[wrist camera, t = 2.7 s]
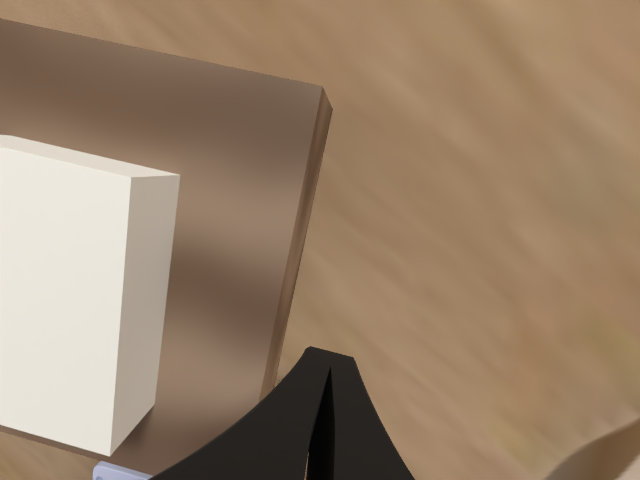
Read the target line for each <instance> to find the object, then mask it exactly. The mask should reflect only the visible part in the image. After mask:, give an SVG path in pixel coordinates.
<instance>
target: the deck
mask: <svg viewBox="0 0 640 480" xmlns="http://www.w3.org/2000/svg"><path fill="white" fill-rule="evenodd" d="M332 110H333V109H332V107H331V104H330V102H329V100H328V98H327V95H326V93H325V91H324V89H323V86H318V85H314V84H309V83H304V82H299V81H295V80H290V79H285V78H280V77H275V76H271V75H266V74H261V73H256V72H252V71H247V70H242V69H237V68H233V67H228V66H223V65H218V64H214V63H209V62H204V61H199V60H195V59H190V58H185V57H180V56H176V55H171V54H166V53H161V52H157V51H152V50H147V49H142V48H138V47H133V46H128V45H123V44H119V43H114V42H109V41H104V40H100V39H95V38H90V37H85V36H81V35H76V34H71V33H66V32H62V31H57V30H52V29H47V28H42V27H38V26H33V25H28V24H23V23H19V22H14V21H9V20H4V19H0V135H9V136H15V137H20V138H24V139H28V140H32V141H37V142H41V143H45V144H50V145H54V146H58V147H62V148H67V149H71V150H75V151H80V152H84V153H88V154H93V155H97V156H101V157H105V158H110V159H114V160H118V161H123V162H127V163H131V164H135V165H140V166H144V167H148V168H153V169H157V170H161V171H166V172H170V173H174V174H178V175H180V183H179V191H178V200H177V209H176V218H175V227H174V236H173V245H172V254H171V263H170V272H169V281H168V289H167V298H166V307H165V316H164V325H163V334H162V343H161V352H160V361H159V370H158V379H157V387H156V396H155V404H154V405H153V407H152V408H151V409H150V410H149V411H148V412H147V414H146V415H145V416H144V417H143V418H142V419H141V421H140V422H139V423H138V424H137V425H136V427H135V428H134V429H133V430H132V431H131V432H130V434H129V435H128V436H127V437H126V438H125V439H124V441H123V442H122V443H121V444H120V445H119V446H118V448H117V449H116V450H115V451H114V452H113V453H112V455H111V456H110V457H109V456H106V455H103V454H99V453H96V452H92V451H89V450H85V449H82V448H78V447H75V446H72V445H68V444H65V443H61V442H58V441H54V440H51V439H48V438H44V437H41V436H37V435H34V434H30V433H27V432H23V431H20V430H17V429H13V428H10V427H6V426H3V425H0V431H1V432H5V433H8V434H12V435H15V436H18V437H22V438H25V439H29V440H32V441H36V442H39V443H42V444H46V445H49V446H53V447H56V448H60V449H63V450H66V451H70V452H73V453H77V454H80V455H84V456H87V457H90V458H94V459H97V460H101V461H104V462H108V463H111V464H114V465H118V466H121V467H125V468H128V469H131V470H135V471H138V472H142V473H145V474H149V475H152V476H155V475H157V474H158V473H160V472H162V471H164V470H165V469H167V468H169V467H171V466H172V465H174V464H176V463H178V462H179V461H181V460H183V459H184V458H186V457H187V456H189V455H191V454H192V453H194V452H195V451H197V450H198V449H200V448H201V447H203V446H204V445H205V444H207V443H208V442H210V441H211V440H213V439H214V438H216V437H217V436H218V435H220V434H221V433H223V432H224V431H225V430H227V429H228V428H229V427H231V426H232V425H233V424H235V423H236V422H237V421H238V420H240V419H241V418H242V417H243V416H245V415H246V414H247V413H248V412H249V411H250V410H252V409H253V408H254V407H255V406H256V405H257V404H258V403H259V402H260V401H262V400H263V399H264V398H265V397H266V396H267V395H268V394H269V393H270V392H271V391H272V390H273V388H274V383H275V378H276V374H277V369H278V364H279V359H280V355H281V350H282V345H283V341H284V336H285V331H286V327H287V322H288V317H289V312H290V308H291V303H292V298H293V294H294V289H295V284H296V279H297V275H298V270H299V265H300V261H301V256H302V251H303V246H304V242H305V237H306V232H307V228H308V223H309V218H310V213H311V209H312V204H313V199H314V195H315V190H316V185H317V180H318V176H319V171H320V166H321V162H322V157H323V152H324V147H325V143H326V138H327V133H328V129H329V124H330V119H331V114H332Z"/></svg>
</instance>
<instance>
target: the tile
mask: <svg viewBox="0 0 640 480" xmlns="http://www.w3.org/2000/svg"><path fill="white" fill-rule="evenodd" d="M179 183H180V175H178V174H174V173H170V172H166V171H161V170H157V169H153V168H148V167H144V166H140V165H135V164H131V163H127V162H123V161H118V160H114V159H110V158H105V157H101V156H97V155H93V154H88V153H84V152H80V151H75V150H71V149H67V148H62V147H58V146H54V145H50V144H45V143H41V142H37V141H32V140H28V139H24V138H20V137H15V136H9V135H0V425H3V426H6V427H10V428H13V429H17V430H20V431H23V432H27V433H30V434H34V435H37V436H41V437H44V438H48V439H51V440H54V441H58V442H61V443H65V444H68V445H72V446H75V447H78V448H82V449H85V450H89V451H92V452H96V453H99V454H103V455H106V456H109V457H110V456H111V455H112V453H113V452H114V451H115V450H116V449H117V448H118V446H119V445H120V444H121V443H122V442H123V441H124V439H125V438H126V437H127V436H128V435H129V434H130V432H131V431H132V430H133V429H134V428H135V427H136V425H137V424H138V423H139V422H140V421H141V419H142V418H143V417H144V416H145V415H146V414H147V412H148V411H149V410H150V409H151V408H152V407H153V405H154V404H155V396H156V387H157V379H158V370H159V361H160V352H161V343H162V334H163V325H164V316H165V307H166V298H167V289H168V281H169V272H170V263H171V254H172V245H173V236H174V227H175V218H176V209H177V200H178V191H179Z"/></svg>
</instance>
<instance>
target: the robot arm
mask: <svg viewBox="0 0 640 480" xmlns="http://www.w3.org/2000/svg"><path fill="white" fill-rule="evenodd" d="M308 451H309V456H308ZM307 456H308V466H307V477H306V480H415V479H414V477H413V476H412V474H411V473H410V471H409V470H408V468H407V467H406V465H405V463H404V462H403V460H402V459H401V457H400V455H399V453H398V452H397V450H396V448H395V446H394V445H393V443H392V441H391V439H390V437H389V436H388V434H387V432H386V430H385V428H384V426H383V424H382V422H381V420H380V418H379V416H378V414H377V412H376V410H375V408H374V406H373V404H372V402H371V400H370V397H369V395H368V393H367V390H366V388H365V386H364V383H363V381H362V378H361V376H360V373H359V370H358V367H357V364H356V362H355V360H354V358H353V357H350V356H346V355H342V354H338V353H334V352H330V351H327V350H323V349H319V348H315V347H311V346H310V347H308V348H306V349H305V352H304V353H303V355H302V356H301V358H300V359H299V361H298V362H297V363H296V365H295V366H294V367H293V368H292V370H291V371H290V372H289V373H288V374H287V375H286V376H285V377H284V379H283V380H282V381H281V382H280V383H279V384H278V385H277V386H276V387H275V388H274V389H273V390H272V391H271V392H270V393H269V394H268V395H267V396H266V397H265V398H264V399H263V400H262V401H260V402H259V403H258V404H257V405H256V406H255V407H254V408H253V409H252V410H250V411H249V412H248V413H247V414H246V415H245V416H243V417H242V418H241V419H240V420H238V421H237V422H236V423H235V424H233V425H232V426H231V427H229V428H228V429H227V430H225V431H224V432H223V433H221V434H220V435H218V436H217V437H216V438H214V439H213V440H211V441H210V442H208V443H207V444H205V445H204V446H203V447H201V448H200V449H198V450H197V451H195V452H194V453H192V454H191V455H189V456H187V457H186V458H184V459H183V460H181V461H179V462H178V463H176V464H174V465H172V466H171V467H169V468H167V469H165V470H164V471H162V472H160V473H158V474H157V475H155V476H152V475H149V474H145V473H142V472H138V471H135V470H131V469H128V468H125V467H121V466H118V465H114V464H111V463H108V462H104V461H100V462H99V463H98V464H97V465H96V466H95V467H94V469H93V480H304V476H305V469H306V463H307Z"/></svg>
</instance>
